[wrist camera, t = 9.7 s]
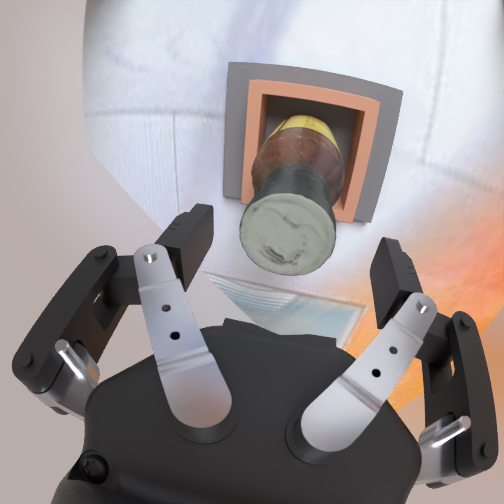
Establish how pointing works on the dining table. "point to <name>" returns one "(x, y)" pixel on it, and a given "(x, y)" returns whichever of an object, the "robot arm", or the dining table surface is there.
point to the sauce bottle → (294, 198)
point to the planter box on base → (322, 107)
